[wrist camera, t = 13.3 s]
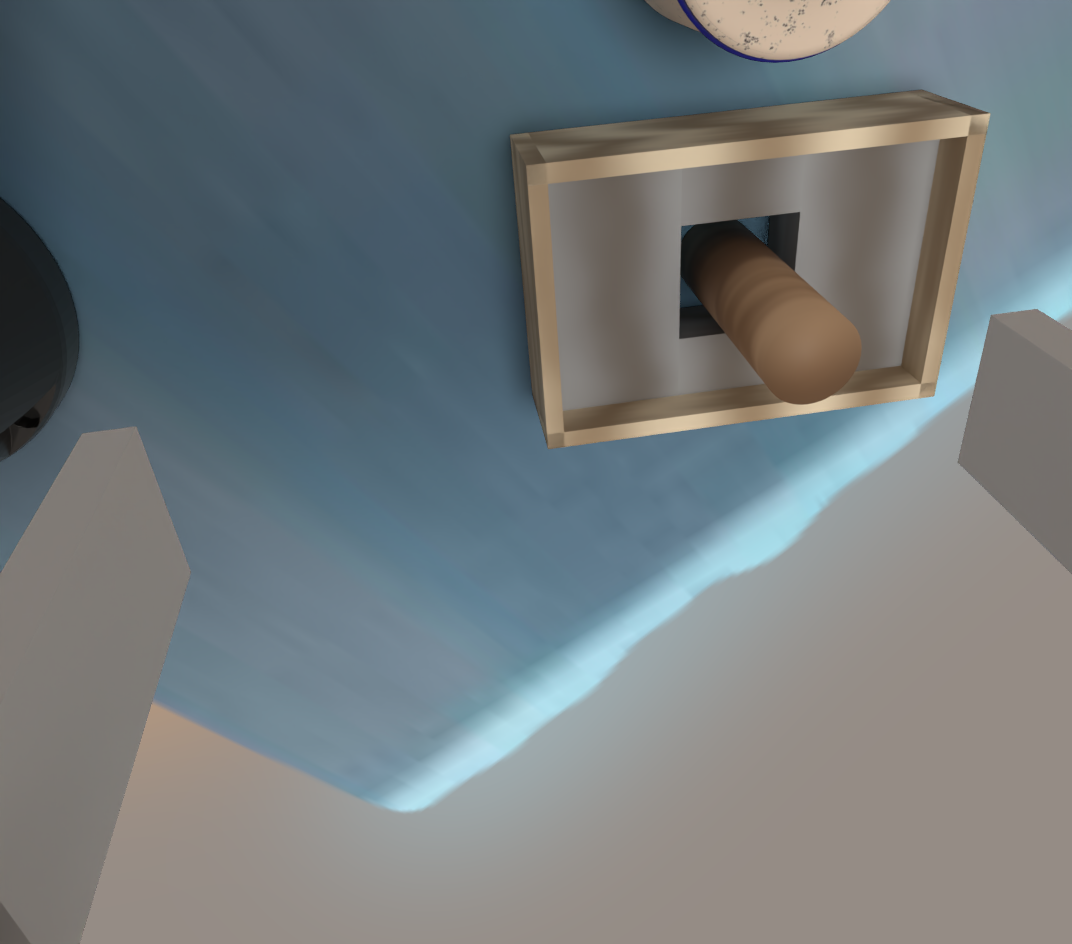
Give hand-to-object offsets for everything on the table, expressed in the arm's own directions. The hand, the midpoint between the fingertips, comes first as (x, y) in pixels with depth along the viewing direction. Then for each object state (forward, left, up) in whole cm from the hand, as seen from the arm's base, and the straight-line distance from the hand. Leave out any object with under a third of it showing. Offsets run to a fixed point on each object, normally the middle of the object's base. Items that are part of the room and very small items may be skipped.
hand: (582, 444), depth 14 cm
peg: (+11, -8, -29) cm, 32 cm away
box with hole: (+11, -8, -29) cm, 32 cm away
